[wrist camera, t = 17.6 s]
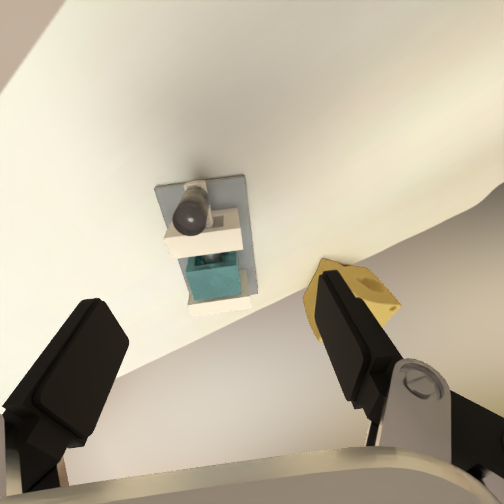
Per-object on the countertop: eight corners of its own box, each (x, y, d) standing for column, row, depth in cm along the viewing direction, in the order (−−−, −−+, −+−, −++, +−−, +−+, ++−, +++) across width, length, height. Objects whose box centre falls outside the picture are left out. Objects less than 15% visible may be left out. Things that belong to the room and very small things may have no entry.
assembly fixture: (156, 186, 30) (137, 207, 24) (244, 175, 31) (249, 193, 24) (193, 298, 42) (187, 333, 35) (257, 289, 42) (263, 322, 36)
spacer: (191, 244, 34) (185, 272, 28) (234, 238, 34) (236, 265, 29) (199, 270, 37) (194, 300, 31) (238, 264, 37) (241, 294, 31)
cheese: (321, 256, 40) (346, 296, 31) (371, 266, 42) (408, 305, 34) (298, 299, 45) (316, 342, 36) (345, 305, 47) (371, 348, 39)
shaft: (183, 182, 27) (168, 208, 20) (208, 178, 27) (202, 203, 20) (212, 292, 36) (209, 337, 29) (230, 290, 37) (232, 334, 29)
